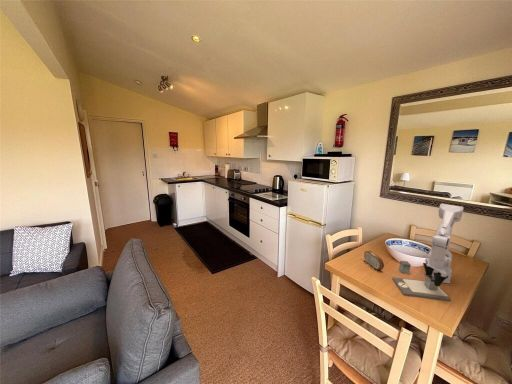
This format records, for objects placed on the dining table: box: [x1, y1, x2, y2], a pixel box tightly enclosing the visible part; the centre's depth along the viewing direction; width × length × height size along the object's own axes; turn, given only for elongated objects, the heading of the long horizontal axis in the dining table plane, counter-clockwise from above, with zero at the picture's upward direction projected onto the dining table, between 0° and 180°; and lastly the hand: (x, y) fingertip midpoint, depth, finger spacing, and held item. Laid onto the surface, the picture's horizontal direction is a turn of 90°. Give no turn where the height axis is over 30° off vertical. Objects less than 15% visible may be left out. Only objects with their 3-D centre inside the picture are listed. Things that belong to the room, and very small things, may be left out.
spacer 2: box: [424, 275, 439, 290], centre depth 113 cm, size 4×4×6 cm
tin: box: [363, 250, 385, 271], centre depth 136 cm, size 15×3×8 cm, turn 10°
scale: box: [391, 276, 451, 302], centre depth 115 cm, size 21×14×2 cm, turn 79°
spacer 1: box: [398, 260, 412, 275], centre depth 131 cm, size 4×4×6 cm
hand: (432, 281), depth 113 cm, fingers open, 7 cm apart
